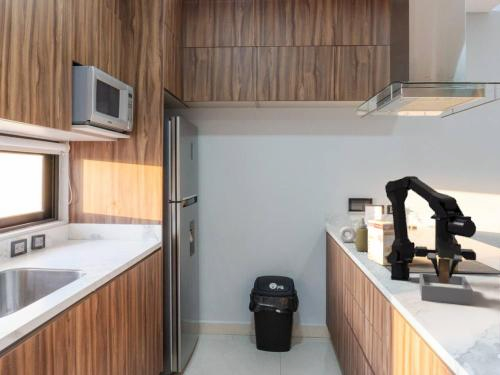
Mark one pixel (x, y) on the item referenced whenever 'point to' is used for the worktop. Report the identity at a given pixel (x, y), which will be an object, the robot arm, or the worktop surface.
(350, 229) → the donut
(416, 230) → the worktop surface
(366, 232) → the squeeze bottle
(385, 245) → the coffeecake box
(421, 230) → the worktop surface
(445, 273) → the peg
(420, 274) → the box
